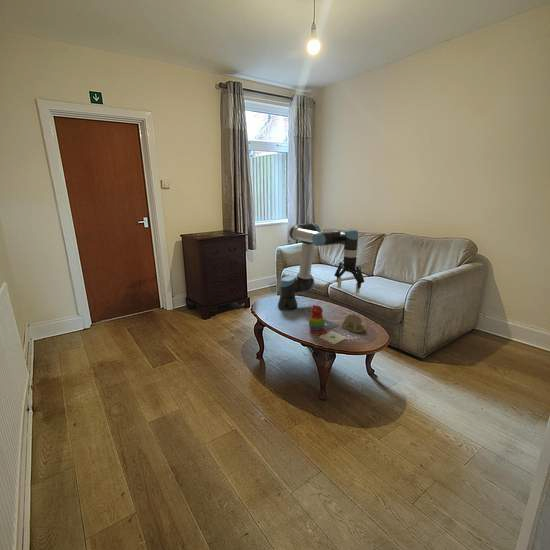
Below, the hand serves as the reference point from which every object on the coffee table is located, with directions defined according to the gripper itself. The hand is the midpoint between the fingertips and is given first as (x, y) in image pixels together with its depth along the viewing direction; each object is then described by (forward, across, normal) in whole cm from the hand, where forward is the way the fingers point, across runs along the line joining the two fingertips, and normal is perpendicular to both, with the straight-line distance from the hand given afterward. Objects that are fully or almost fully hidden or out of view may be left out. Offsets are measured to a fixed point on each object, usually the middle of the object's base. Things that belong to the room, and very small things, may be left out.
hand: (348, 290), depth 190 cm
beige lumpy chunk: (+29, -3, +11) cm, 31 cm away
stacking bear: (+29, -14, -12) cm, 34 cm away
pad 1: (+29, -17, +1) cm, 34 cm away
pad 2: (+29, -2, -10) cm, 31 cm away
